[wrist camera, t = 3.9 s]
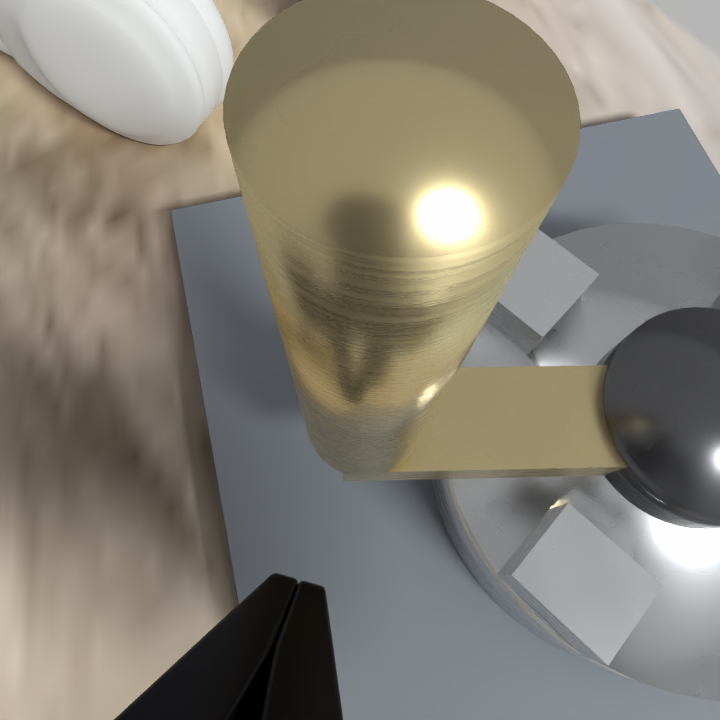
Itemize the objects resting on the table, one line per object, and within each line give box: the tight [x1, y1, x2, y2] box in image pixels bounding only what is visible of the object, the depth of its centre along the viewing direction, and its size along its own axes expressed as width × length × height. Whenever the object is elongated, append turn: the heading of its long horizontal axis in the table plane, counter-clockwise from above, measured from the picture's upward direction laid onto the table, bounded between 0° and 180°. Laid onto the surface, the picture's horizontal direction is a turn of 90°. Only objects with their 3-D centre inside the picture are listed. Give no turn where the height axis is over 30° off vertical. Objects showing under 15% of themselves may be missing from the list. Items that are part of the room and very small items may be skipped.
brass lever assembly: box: [223, 0, 720, 701], centre depth 10 cm, size 15×12×13 cm
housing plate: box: [171, 109, 720, 720], centre depth 18 cm, size 20×20×2 cm
